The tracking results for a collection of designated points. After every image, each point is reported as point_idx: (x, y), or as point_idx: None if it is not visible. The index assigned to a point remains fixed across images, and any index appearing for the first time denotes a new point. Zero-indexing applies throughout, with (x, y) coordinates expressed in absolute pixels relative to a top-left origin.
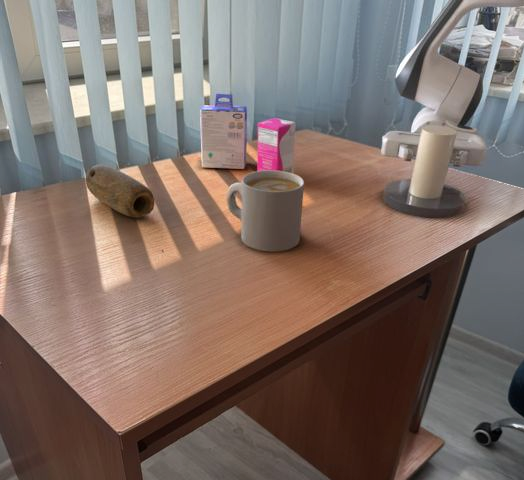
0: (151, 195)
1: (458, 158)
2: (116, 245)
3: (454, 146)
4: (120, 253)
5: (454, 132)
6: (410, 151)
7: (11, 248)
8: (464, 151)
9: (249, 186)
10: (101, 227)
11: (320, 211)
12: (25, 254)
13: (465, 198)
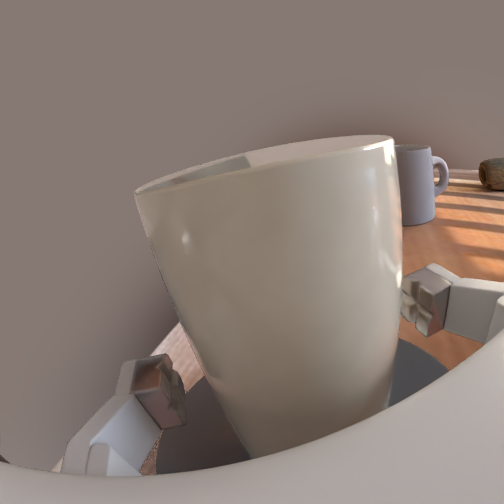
0: (486, 171)
1: (150, 357)
2: (449, 181)
3: (149, 476)
4: (437, 181)
5: (160, 178)
6: (422, 275)
7: (466, 170)
8: (85, 459)
9: (396, 145)
10: (479, 182)
11: (442, 261)
12: (456, 171)
13: (159, 461)
